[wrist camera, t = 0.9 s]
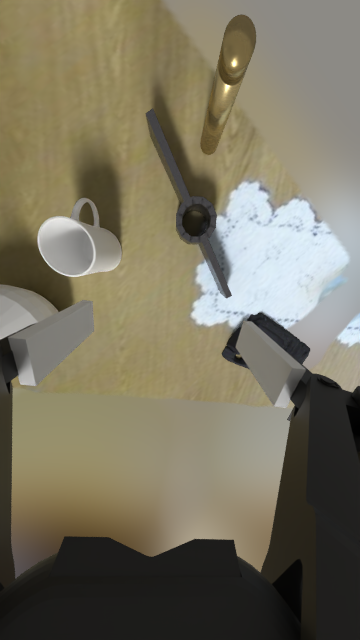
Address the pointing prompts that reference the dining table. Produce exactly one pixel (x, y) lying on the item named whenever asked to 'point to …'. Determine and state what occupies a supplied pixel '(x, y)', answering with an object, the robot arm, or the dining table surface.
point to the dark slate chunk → (275, 333)
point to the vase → (21, 309)
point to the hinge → (188, 204)
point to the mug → (78, 244)
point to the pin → (228, 78)
